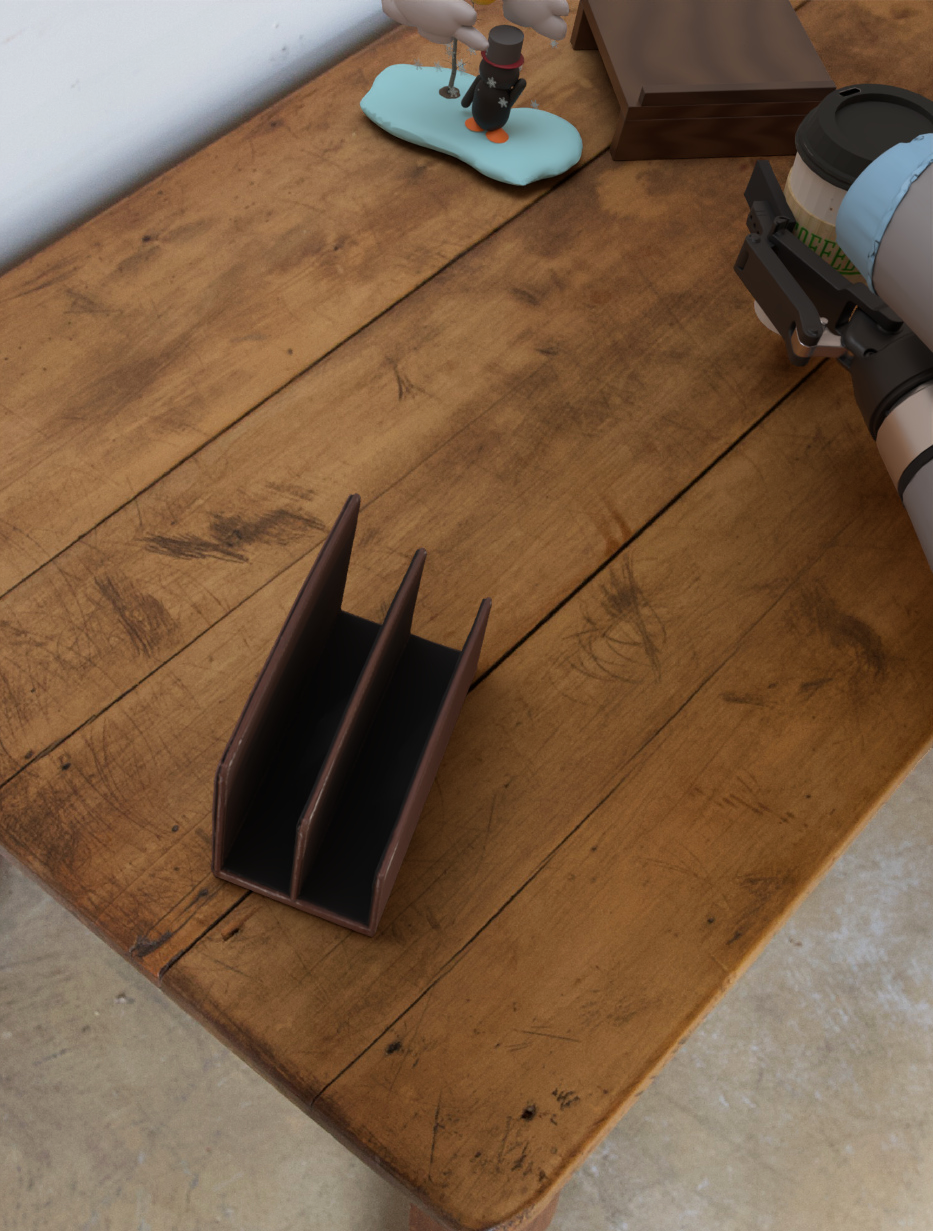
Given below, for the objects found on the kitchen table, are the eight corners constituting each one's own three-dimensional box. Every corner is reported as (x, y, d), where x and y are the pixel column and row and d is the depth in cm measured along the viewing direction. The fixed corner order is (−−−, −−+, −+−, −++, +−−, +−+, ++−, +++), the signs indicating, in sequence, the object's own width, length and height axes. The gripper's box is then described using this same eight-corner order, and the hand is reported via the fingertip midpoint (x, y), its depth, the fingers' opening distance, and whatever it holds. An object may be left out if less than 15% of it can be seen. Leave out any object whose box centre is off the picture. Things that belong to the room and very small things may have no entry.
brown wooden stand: (759, 34, 118) (784, -33, 113) (819, 154, 108) (849, 86, 103) (569, 40, 117) (585, -28, 112) (613, 160, 108) (632, 93, 102)
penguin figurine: (598, 154, 108) (648, -25, 95) (529, 215, 104) (572, 36, 91) (409, 65, 115) (432, -114, 102) (337, 118, 110) (351, -61, 97)
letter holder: (208, 877, 72) (204, 757, 60) (331, 616, 82) (348, 468, 70) (373, 942, 70) (403, 831, 58) (478, 666, 80) (522, 523, 68)
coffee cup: (783, 375, 88) (875, 189, 75) (701, 288, 93) (774, 99, 80) (896, 335, 90) (1003, 148, 78) (810, 251, 95) (897, 62, 82)
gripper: (742, 465, 78) (654, 226, 90) (1077, 448, 79) (946, 214, 91) (787, 375, 72) (686, 131, 84) (1151, 358, 73) (999, 119, 85)
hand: (821, 174), depth 87 cm, fingers closed on coffee cup, 9 cm apart
